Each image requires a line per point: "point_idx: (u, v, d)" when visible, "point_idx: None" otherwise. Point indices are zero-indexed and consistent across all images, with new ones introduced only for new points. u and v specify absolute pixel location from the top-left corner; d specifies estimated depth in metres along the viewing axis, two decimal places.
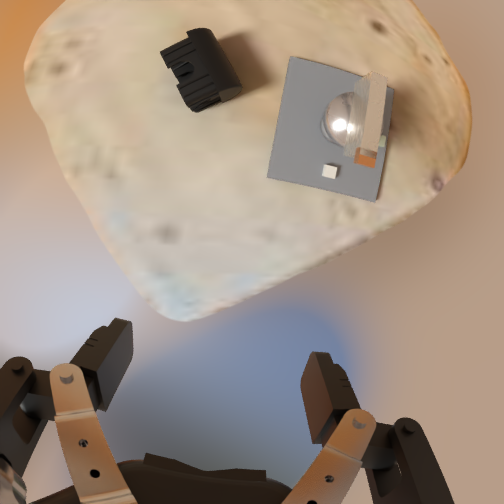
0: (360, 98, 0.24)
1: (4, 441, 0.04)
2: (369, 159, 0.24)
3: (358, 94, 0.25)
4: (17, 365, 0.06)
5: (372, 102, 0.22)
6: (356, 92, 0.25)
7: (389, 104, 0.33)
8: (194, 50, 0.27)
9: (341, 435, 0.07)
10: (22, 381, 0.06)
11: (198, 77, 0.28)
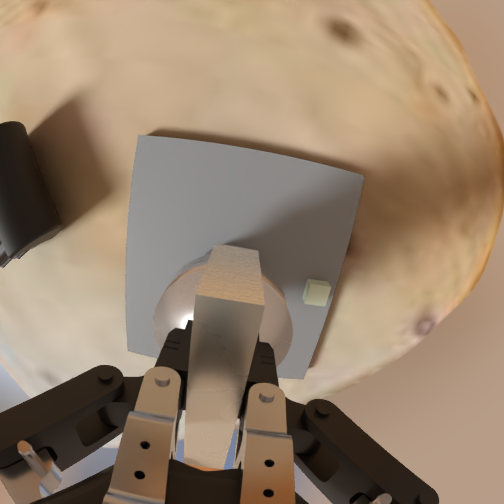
0: None
1: (58, 438, 0.05)
2: (207, 469, 0.10)
3: None
4: (105, 375, 0.07)
5: (202, 389, 0.08)
6: None
7: (349, 211, 0.19)
8: None
9: (255, 415, 0.07)
10: (116, 391, 0.07)
11: None
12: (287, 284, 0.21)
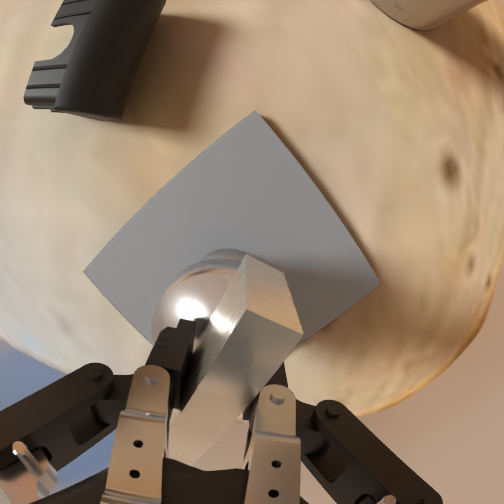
0: (211, 337, 0.10)
1: (52, 437, 0.05)
2: None
3: (222, 309, 0.11)
4: (95, 373, 0.07)
5: (209, 395, 0.08)
6: (228, 290, 0.11)
7: (351, 300, 0.21)
8: None
9: (265, 416, 0.07)
10: (105, 388, 0.07)
11: (59, 64, 0.11)
12: None
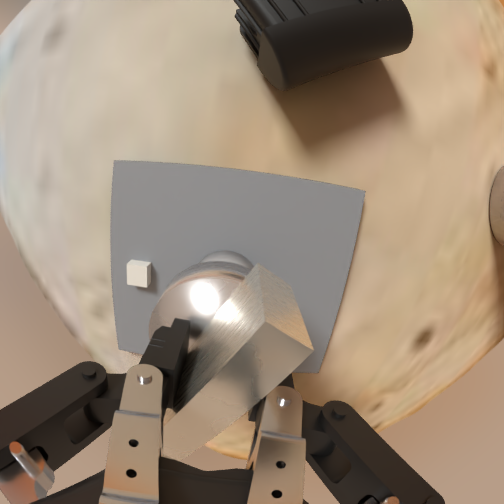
0: (215, 341, 0.10)
1: (47, 437, 0.05)
2: None
3: (229, 314, 0.11)
4: (88, 371, 0.07)
5: (211, 398, 0.08)
6: (236, 296, 0.11)
7: None
8: None
9: (272, 416, 0.07)
10: (98, 387, 0.07)
11: (299, 2, 0.11)
12: None
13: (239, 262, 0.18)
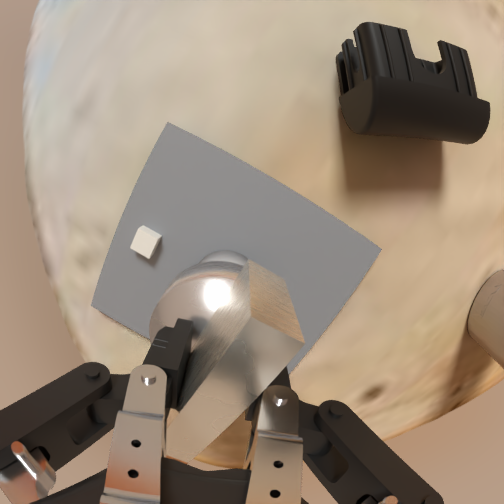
0: (211, 340, 0.10)
1: (50, 437, 0.05)
2: None
3: (223, 312, 0.11)
4: (92, 372, 0.07)
5: (208, 398, 0.08)
6: (229, 295, 0.11)
7: None
8: (457, 92, 0.12)
9: (268, 416, 0.07)
10: (102, 388, 0.07)
11: (410, 65, 0.12)
12: None
13: None
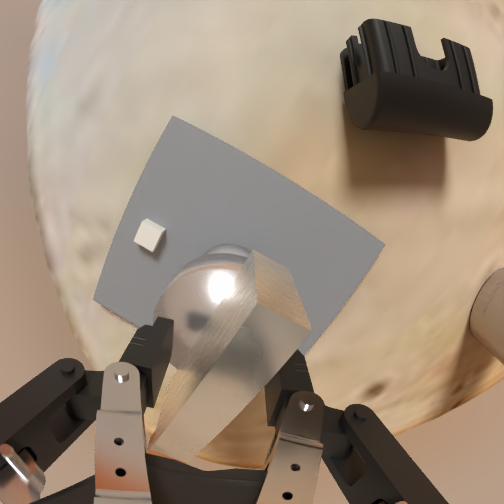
0: (216, 331, 0.10)
1: (34, 436, 0.05)
2: None
3: (228, 303, 0.11)
4: (67, 367, 0.07)
5: (213, 388, 0.08)
6: (234, 285, 0.11)
7: None
8: (461, 89, 0.12)
9: (292, 420, 0.07)
10: (75, 383, 0.07)
11: (414, 61, 0.11)
12: None
13: None
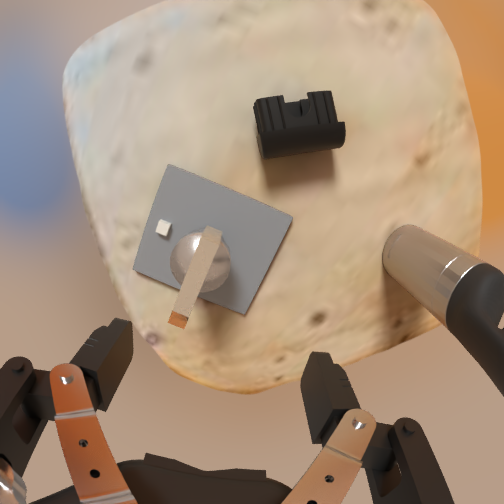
0: None
1: (4, 441, 0.04)
2: (179, 321, 0.28)
3: None
4: (17, 365, 0.06)
5: (192, 272, 0.26)
6: None
7: (228, 305, 0.41)
8: (318, 122, 0.29)
9: (341, 435, 0.07)
10: (22, 381, 0.06)
11: (284, 118, 0.29)
12: None
13: None
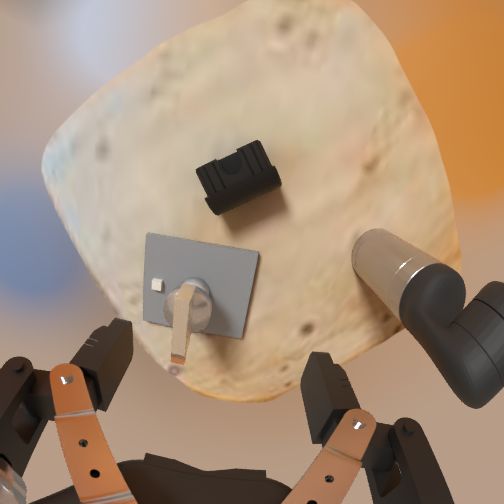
0: None
1: (4, 441, 0.04)
2: (179, 360, 0.35)
3: None
4: (17, 365, 0.06)
5: (176, 324, 0.33)
6: None
7: (226, 333, 0.48)
8: (252, 174, 0.35)
9: (341, 435, 0.07)
10: (22, 381, 0.06)
11: (221, 179, 0.36)
12: None
13: (199, 283, 0.43)
